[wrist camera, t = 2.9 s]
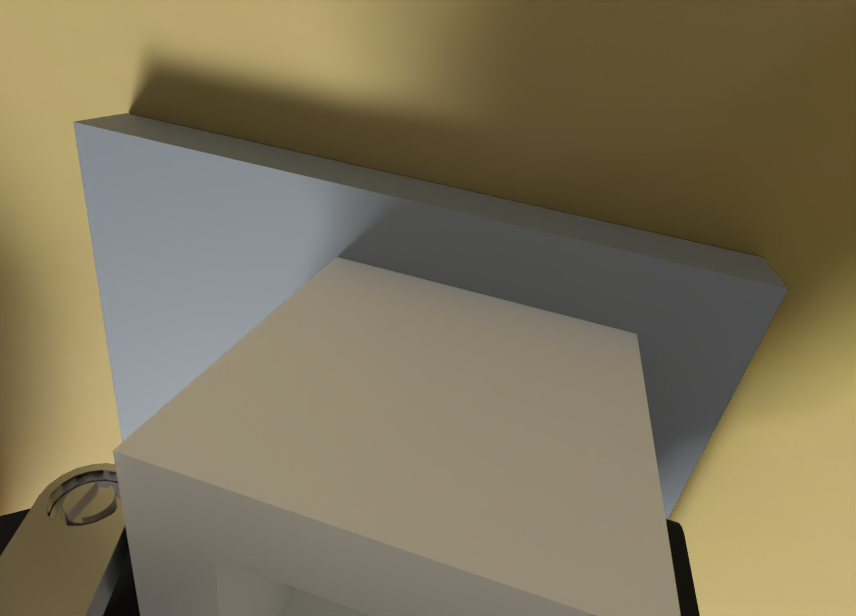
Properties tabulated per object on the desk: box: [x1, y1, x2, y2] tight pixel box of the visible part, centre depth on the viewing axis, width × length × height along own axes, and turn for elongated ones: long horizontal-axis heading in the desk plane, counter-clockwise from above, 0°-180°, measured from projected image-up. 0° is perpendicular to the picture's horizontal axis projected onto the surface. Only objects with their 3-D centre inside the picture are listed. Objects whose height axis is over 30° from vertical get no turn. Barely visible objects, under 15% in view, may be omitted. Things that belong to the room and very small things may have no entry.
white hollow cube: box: [113, 257, 681, 616], centre depth 9 cm, size 6×6×6 cm
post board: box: [74, 113, 788, 519], centre depth 13 cm, size 14×19×6 cm
